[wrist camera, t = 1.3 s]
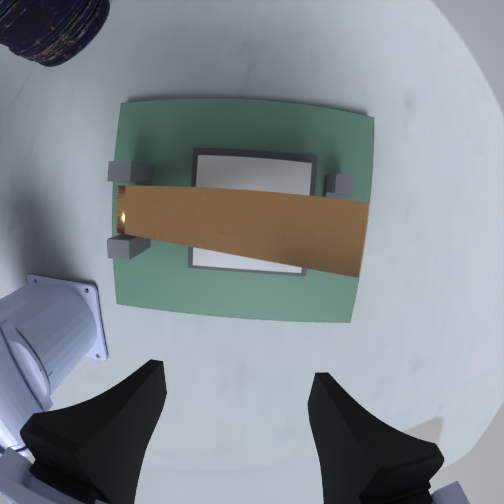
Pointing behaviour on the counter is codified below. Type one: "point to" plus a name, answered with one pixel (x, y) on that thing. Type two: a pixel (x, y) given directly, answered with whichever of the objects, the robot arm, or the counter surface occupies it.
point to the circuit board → (238, 131)
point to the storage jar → (50, 27)
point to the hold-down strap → (250, 224)
